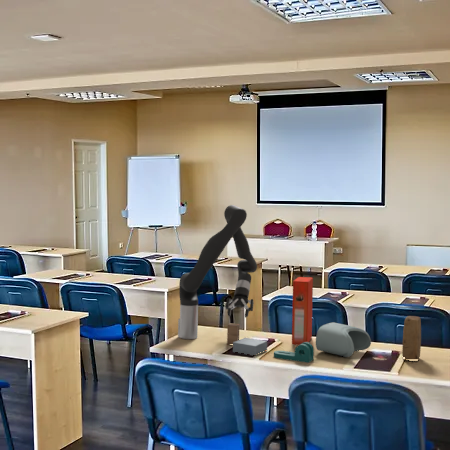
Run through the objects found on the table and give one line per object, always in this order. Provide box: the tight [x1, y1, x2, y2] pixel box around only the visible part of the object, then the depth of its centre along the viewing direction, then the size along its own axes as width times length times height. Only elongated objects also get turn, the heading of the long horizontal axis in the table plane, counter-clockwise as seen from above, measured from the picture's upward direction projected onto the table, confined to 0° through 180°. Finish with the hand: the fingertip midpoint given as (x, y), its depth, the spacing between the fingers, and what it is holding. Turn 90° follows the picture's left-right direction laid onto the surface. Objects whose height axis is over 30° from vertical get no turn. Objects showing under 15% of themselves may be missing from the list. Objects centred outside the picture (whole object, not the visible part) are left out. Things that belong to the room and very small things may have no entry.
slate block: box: [232, 337, 268, 356], centre depth 309 cm, size 12×12×5 cm
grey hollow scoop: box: [315, 321, 372, 358], centre depth 310 cm, size 22×19×13 cm
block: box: [401, 315, 422, 360], centre depth 301 cm, size 11×8×20 cm
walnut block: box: [226, 322, 240, 346], centre depth 322 cm, size 5×5×10 cm
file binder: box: [291, 276, 314, 346], centre depth 332 cm, size 8×17×32 cm, turn 165°
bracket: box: [273, 341, 315, 364], centre depth 298 cm, size 18×7×8 cm, turn 64°
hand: (237, 316), depth 330 cm, fingers open, 8 cm apart
